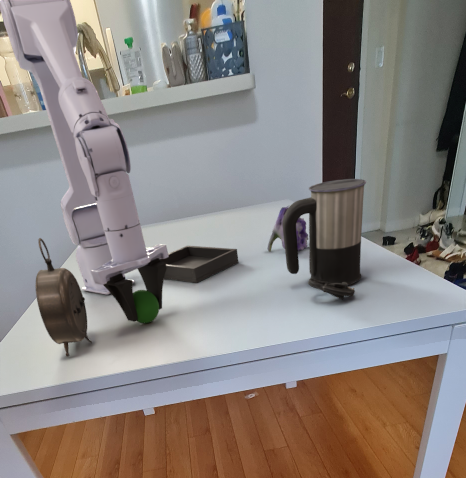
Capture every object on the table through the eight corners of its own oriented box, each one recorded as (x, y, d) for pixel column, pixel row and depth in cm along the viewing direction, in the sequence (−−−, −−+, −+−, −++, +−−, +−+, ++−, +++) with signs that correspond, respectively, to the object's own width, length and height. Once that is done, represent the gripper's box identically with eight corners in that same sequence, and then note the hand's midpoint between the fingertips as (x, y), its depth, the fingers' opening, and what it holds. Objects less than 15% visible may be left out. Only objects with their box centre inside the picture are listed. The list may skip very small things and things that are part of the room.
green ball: (126, 325, 81) (117, 294, 77) (148, 314, 84) (140, 283, 80) (145, 330, 78) (137, 297, 74) (168, 318, 81) (161, 286, 77)
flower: (253, 224, 97) (294, 193, 94) (259, 233, 105) (297, 205, 101) (274, 264, 99) (315, 235, 95) (279, 270, 106) (317, 243, 103)
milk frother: (342, 268, 88) (344, 176, 78) (397, 287, 77) (407, 181, 67) (278, 288, 85) (271, 194, 75) (325, 310, 73) (325, 203, 63)
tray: (148, 276, 102) (144, 263, 101) (189, 258, 109) (187, 245, 107) (196, 283, 94) (194, 268, 92) (238, 262, 101) (237, 248, 99)
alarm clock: (70, 335, 81) (31, 233, 70) (99, 330, 81) (65, 227, 70) (57, 361, 73) (10, 250, 62) (89, 356, 73) (49, 244, 62)
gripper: (100, 240, 65) (127, 333, 74) (172, 214, 72) (189, 302, 81) (72, 238, 69) (102, 327, 78) (144, 214, 76) (163, 297, 85)
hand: (145, 314), depth 80 cm, fingers closed on green ball, 5 cm apart
